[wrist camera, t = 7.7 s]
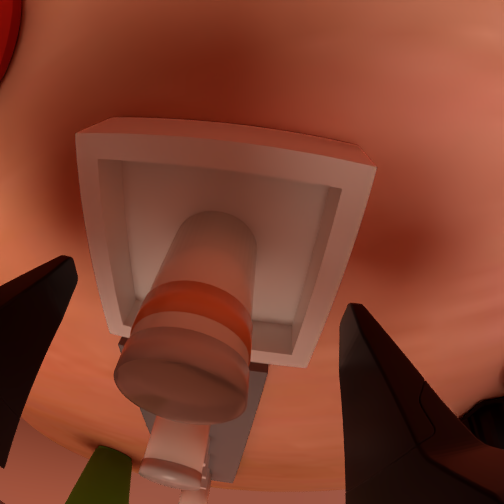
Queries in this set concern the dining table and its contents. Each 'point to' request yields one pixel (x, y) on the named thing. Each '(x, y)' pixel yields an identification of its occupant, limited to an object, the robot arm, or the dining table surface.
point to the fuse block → (226, 430)
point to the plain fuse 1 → (175, 454)
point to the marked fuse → (195, 326)
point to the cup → (103, 479)
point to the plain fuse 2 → (196, 495)
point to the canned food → (8, 31)
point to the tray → (228, 201)
